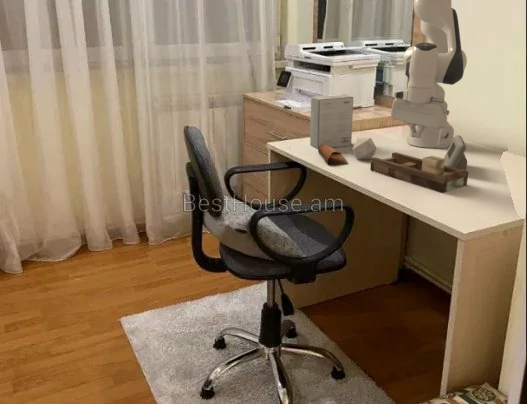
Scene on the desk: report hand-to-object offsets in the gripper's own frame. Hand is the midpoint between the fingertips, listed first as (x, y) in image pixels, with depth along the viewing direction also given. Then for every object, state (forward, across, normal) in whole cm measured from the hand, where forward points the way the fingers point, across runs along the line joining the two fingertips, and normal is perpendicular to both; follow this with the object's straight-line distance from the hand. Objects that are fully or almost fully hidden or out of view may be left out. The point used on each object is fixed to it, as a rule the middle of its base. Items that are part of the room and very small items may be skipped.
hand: (416, 137), depth 190 cm
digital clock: (+14, -2, -20) cm, 24 cm away
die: (+14, +26, -4) cm, 29 cm away
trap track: (+14, -1, -1) cm, 14 cm away
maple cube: (+11, -7, -1) cm, 13 cm away
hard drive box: (+14, +48, -7) cm, 50 cm away
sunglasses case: (+14, +33, +5) cm, 36 cm away
